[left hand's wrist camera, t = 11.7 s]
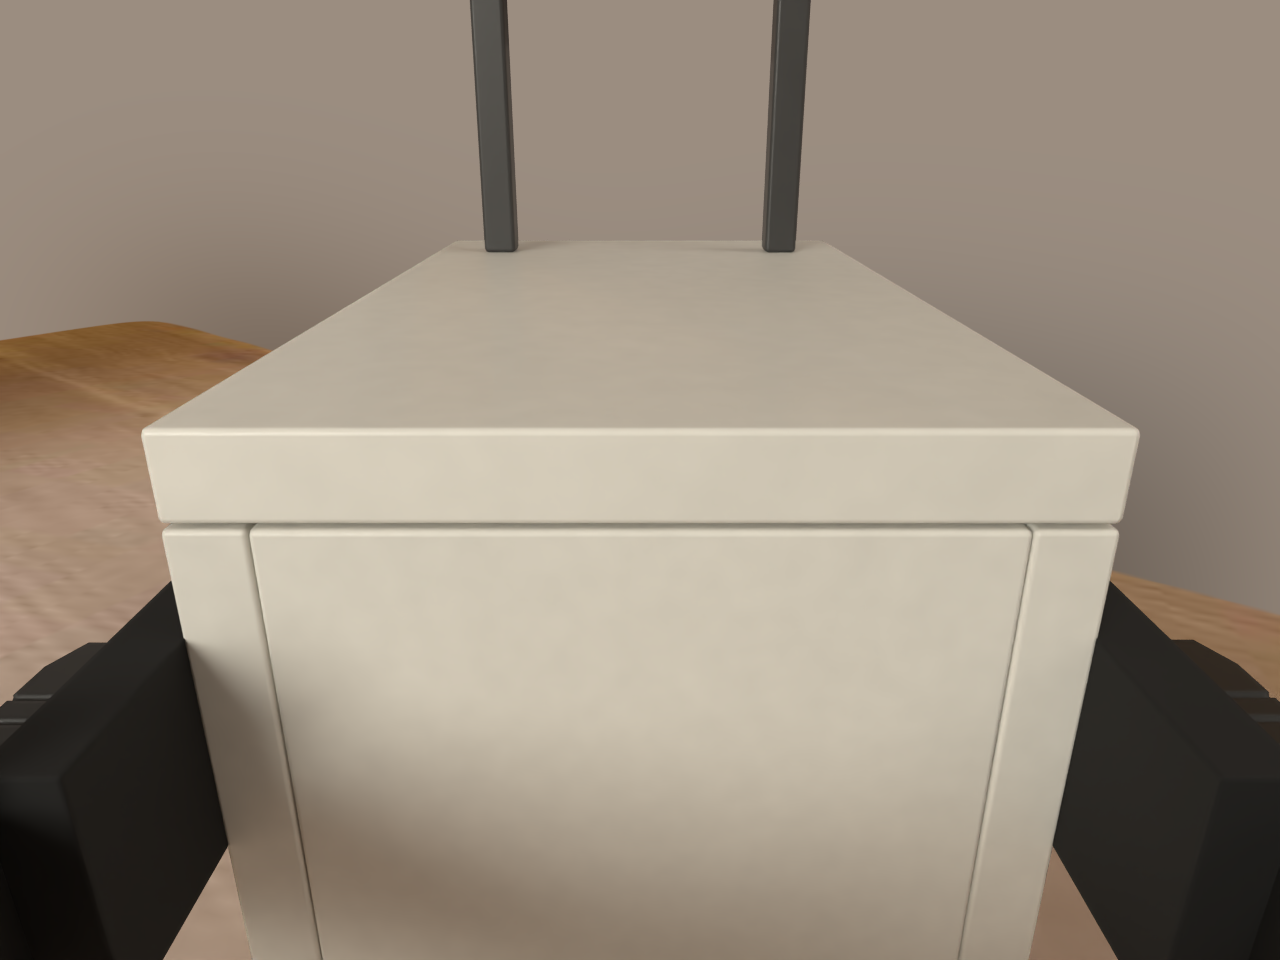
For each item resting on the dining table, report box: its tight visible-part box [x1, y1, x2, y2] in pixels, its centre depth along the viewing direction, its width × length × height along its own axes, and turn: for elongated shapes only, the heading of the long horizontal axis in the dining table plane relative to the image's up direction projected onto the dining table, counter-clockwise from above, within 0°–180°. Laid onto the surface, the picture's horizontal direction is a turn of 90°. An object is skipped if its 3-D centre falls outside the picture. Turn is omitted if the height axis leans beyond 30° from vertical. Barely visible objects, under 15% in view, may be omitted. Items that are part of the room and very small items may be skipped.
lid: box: [141, 0, 1140, 523], centre depth 14 cm, size 16×9×9 cm, turn 0°
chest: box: [162, 523, 1119, 960], centre depth 17 cm, size 15×9×9 cm, turn 0°
